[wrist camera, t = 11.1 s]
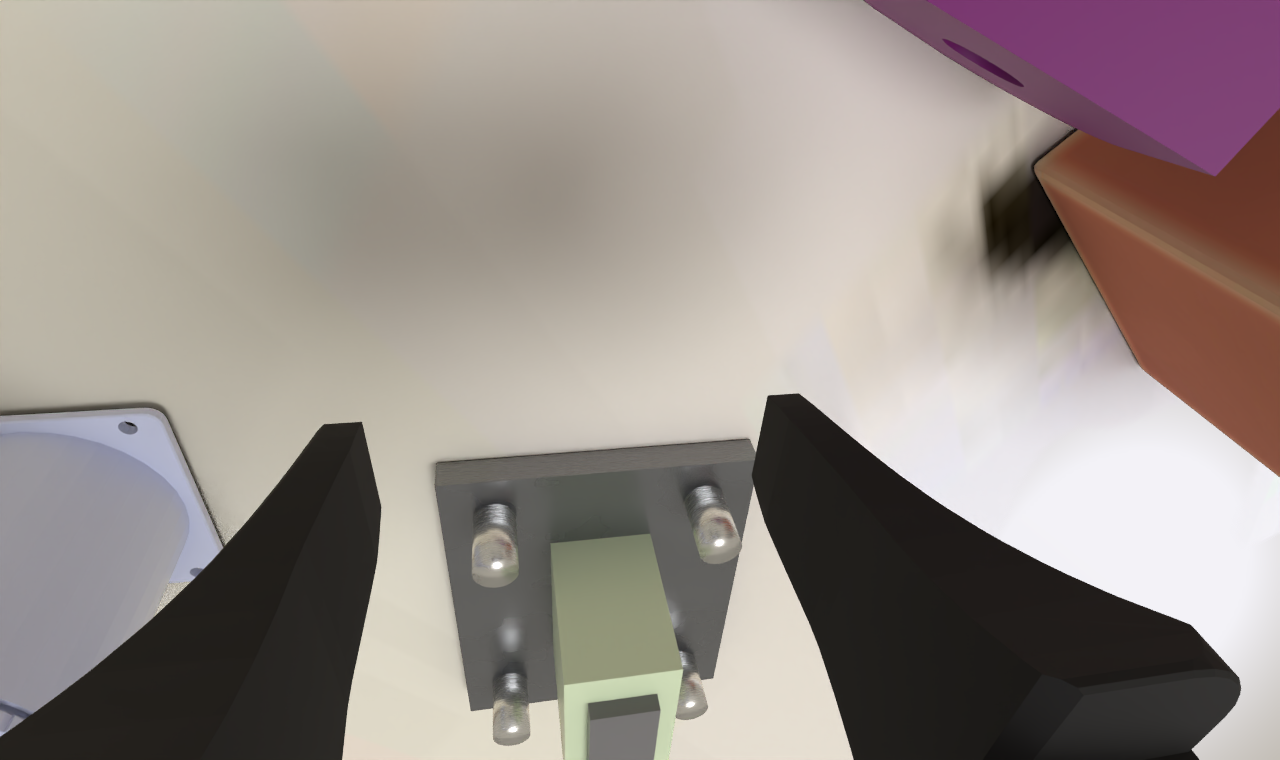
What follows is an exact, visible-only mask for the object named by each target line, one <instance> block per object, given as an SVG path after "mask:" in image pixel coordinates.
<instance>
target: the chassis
mask: <svg viewBox="0 0 1280 760" xmlns="http://www.w3.org/2000/svg"><path fill="white" fill-rule="evenodd" d="M755 456H756V452H755V450H754V448H753V446H752V444H751V441H750V439H747V440H734V441H721V442H708V443H695V444H681V445H668V446H655V447H642V448H629V449H616V450H602V451H589V452H576V453H563V454H550V455H537V456H523V457H510V458H497V459H484V460H471V461H458V462H444V463H437V467H436V479H435V490H436V496H437V502H438V508H439V515H440V521H441V527H442V533H443V540H444V546H445V552H446V558H447V565H448V571H449V577H450V583H451V590H452V596H453V602H454V608H455V615H456V621H457V627H458V633H459V640H460V646H461V652H462V658H463V665H464V671H465V677H466V683H467V690H468V696H469V702H470V708H471V711H476V710H483V709H491V708H493V740H494V741H495V742H496V743H497V744H500V745H506V746H509V745H516V744H520V743H522V742H524V741H526V740H527V739H528V738H529V736H530V719H529V703H535V702H542V701H550V700H557V699H558V695H557V683H556V672H555V660H554V649H553V616H552V580H551V544H550V543H559V542H570V541H580V540H590V539H600V538H611V537H621V536H631V535H641V534H650V535H651V539H652V543H653V547H654V551H655V555H656V559H657V563H658V568H659V572H660V576H661V580H662V584H663V588H664V592H665V596H666V600H667V605H668V609H669V613H670V617H671V621H672V625H673V629H674V633H675V637H676V641H677V646H678V650H679V654H680V658H681V662H682V666H683V674H682V680H681V687H680V693H679V699H678V705H677V711H676V718H678V719H681V720H689V719H694V718H697V717H699V716H701V715H702V714H704V713H705V712H706V711H707V709H708V705H707V701H706V697H705V693H704V690H703V686H702V682H701V680H704V679H711V678H713V676H714V671H715V667H716V662H717V657H718V652H719V647H720V643H721V638H722V633H723V628H724V624H725V619H726V614H727V609H728V605H729V600H730V595H731V590H732V585H733V581H734V576H735V571H736V566H737V562H738V557H739V552H740V551H741V548H742V538H743V533H744V528H745V524H746V519H747V514H748V509H749V504H750V500H751V495H752V490H753V485H754V483H753V480H752V476H751V475H752V471H753V466H754V461H755Z"/></svg>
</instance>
